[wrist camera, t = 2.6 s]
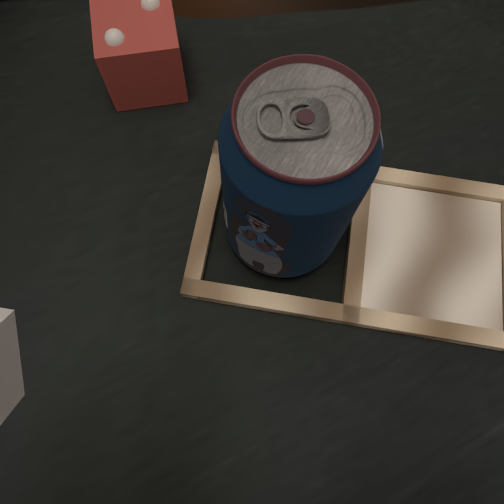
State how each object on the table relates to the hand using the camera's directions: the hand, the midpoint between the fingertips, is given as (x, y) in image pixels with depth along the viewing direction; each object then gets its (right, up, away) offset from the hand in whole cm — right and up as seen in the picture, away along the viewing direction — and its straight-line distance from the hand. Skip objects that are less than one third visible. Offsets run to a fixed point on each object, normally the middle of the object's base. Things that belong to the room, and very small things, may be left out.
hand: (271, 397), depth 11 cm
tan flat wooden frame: (+11, +3, +17) cm, 20 cm away
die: (-8, +16, +21) cm, 27 cm away
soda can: (+1, +5, +17) cm, 18 cm away
